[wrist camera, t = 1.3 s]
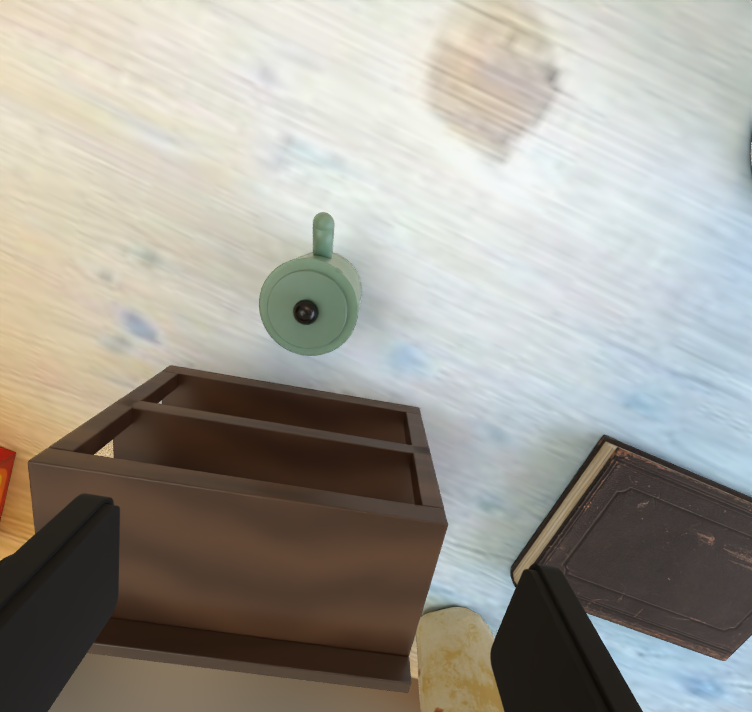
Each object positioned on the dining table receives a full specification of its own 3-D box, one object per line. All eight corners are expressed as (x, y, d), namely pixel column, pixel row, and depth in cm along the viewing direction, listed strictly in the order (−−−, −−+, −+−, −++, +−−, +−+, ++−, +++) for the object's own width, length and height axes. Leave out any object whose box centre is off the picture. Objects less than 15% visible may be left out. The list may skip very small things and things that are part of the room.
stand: (170, 365, 30) (-2, 479, 17) (419, 407, 32) (454, 547, 18) (167, 472, 33) (20, 645, 20) (395, 507, 35) (408, 693, 21)
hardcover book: (603, 434, 32) (620, 449, 30) (815, 524, 35) (844, 544, 33) (507, 571, 37) (516, 592, 35) (703, 641, 40) (722, 665, 38)
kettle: (294, 207, 27) (259, 198, 19) (374, 223, 27) (374, 221, 19) (281, 320, 29) (246, 355, 21) (355, 333, 30) (347, 372, 22)
